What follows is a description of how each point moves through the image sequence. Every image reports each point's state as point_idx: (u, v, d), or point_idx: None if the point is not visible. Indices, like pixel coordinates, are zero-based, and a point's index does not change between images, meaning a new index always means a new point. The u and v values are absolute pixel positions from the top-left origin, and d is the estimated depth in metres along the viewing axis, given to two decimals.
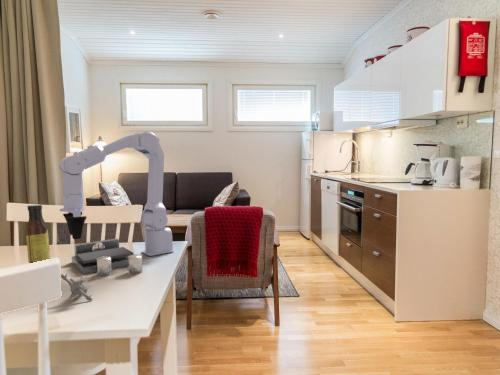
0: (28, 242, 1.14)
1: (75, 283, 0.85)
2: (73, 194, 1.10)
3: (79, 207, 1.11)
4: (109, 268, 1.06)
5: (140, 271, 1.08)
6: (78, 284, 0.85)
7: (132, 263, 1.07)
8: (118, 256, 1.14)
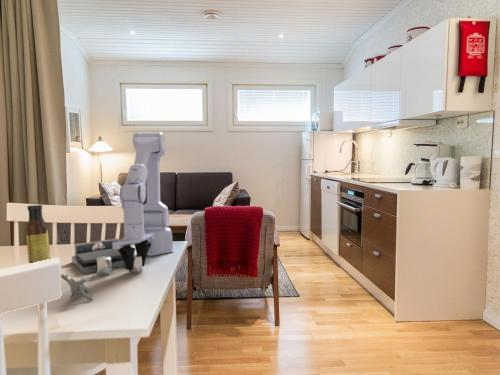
0: (28, 242, 1.14)
1: (76, 283, 0.85)
2: (125, 224, 1.05)
3: (130, 238, 1.05)
4: (109, 268, 1.06)
5: (140, 271, 1.08)
6: (79, 284, 0.85)
7: None
8: (118, 256, 1.14)
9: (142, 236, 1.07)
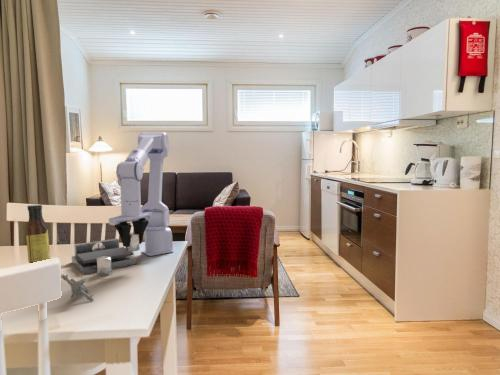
0: (28, 242, 1.14)
1: (76, 283, 0.85)
2: (122, 201, 1.06)
3: (127, 215, 1.06)
4: (109, 268, 1.06)
5: (137, 249, 1.09)
6: (79, 284, 0.85)
7: None
8: (118, 256, 1.14)
9: (139, 213, 1.08)
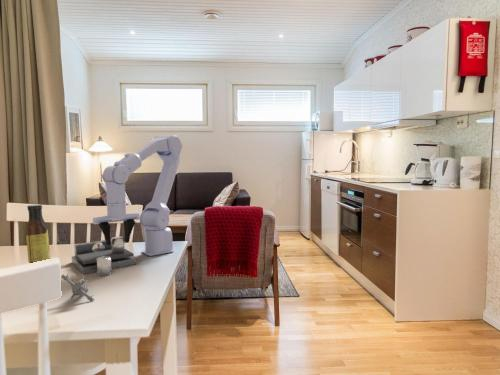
0: (28, 242, 1.14)
1: (77, 283, 0.85)
2: (107, 202, 1.15)
3: (110, 216, 1.15)
4: (109, 268, 1.06)
5: (120, 252, 1.17)
6: (80, 284, 0.85)
7: (113, 244, 1.16)
8: (118, 257, 1.14)
9: (121, 214, 1.16)
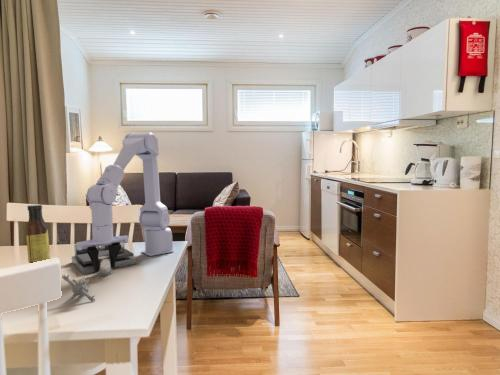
0: (28, 242, 1.14)
1: (78, 284, 0.85)
2: (92, 225, 1.04)
3: (95, 240, 1.04)
4: (109, 268, 1.06)
5: (121, 251, 1.17)
6: (81, 285, 0.85)
7: None
8: (118, 257, 1.14)
9: (108, 238, 1.05)
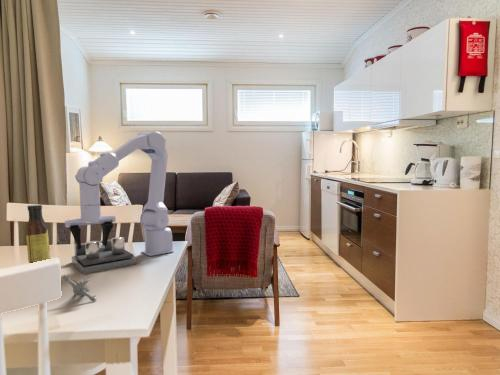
0: (28, 242, 1.14)
1: (79, 284, 0.84)
2: (80, 204, 1.11)
3: (83, 218, 1.10)
4: (97, 252, 1.13)
5: (122, 251, 1.17)
6: (82, 285, 0.85)
7: (115, 244, 1.16)
8: (118, 258, 1.14)
9: (95, 217, 1.11)
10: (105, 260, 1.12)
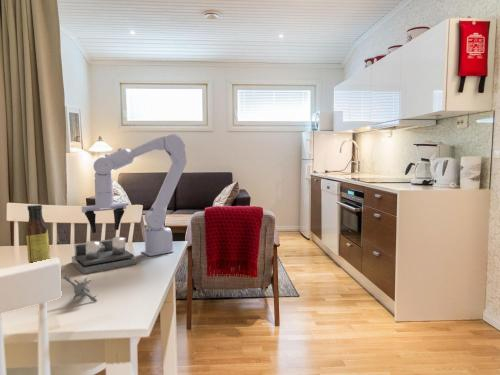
0: (28, 242, 1.14)
1: (80, 284, 0.84)
2: (95, 192, 1.23)
3: (97, 205, 1.22)
4: (97, 252, 1.12)
5: (124, 252, 1.18)
6: (83, 285, 0.85)
7: (118, 245, 1.16)
8: (118, 258, 1.14)
9: (108, 204, 1.23)
10: (105, 260, 1.12)
